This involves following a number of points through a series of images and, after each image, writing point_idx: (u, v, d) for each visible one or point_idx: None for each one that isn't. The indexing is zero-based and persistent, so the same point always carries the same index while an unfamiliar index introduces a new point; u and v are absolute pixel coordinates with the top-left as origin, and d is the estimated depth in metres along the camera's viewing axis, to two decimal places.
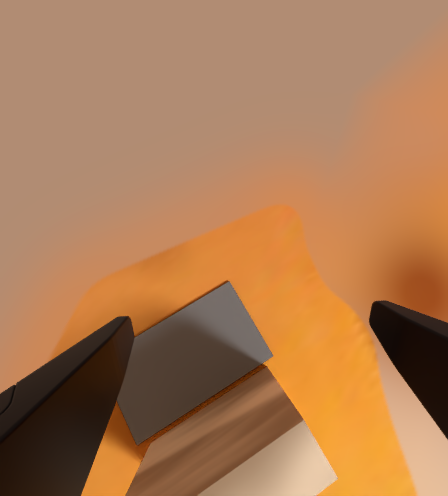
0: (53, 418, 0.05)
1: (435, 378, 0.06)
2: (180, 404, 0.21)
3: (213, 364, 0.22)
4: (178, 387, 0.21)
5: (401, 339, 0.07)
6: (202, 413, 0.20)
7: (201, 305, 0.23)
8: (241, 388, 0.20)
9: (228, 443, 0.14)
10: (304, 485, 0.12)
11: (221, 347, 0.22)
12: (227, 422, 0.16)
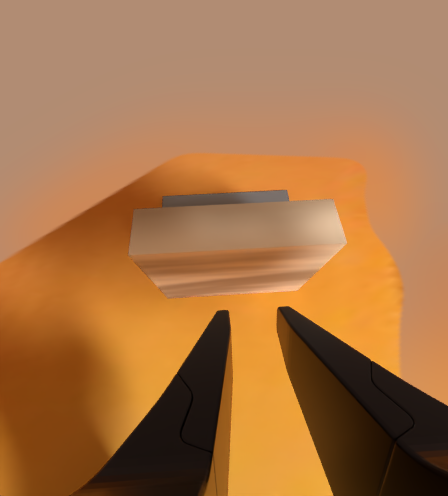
0: (223, 406, 0.05)
1: (307, 387, 0.06)
2: None
3: None
4: None
5: (289, 346, 0.07)
6: None
7: (256, 196, 0.26)
8: None
9: None
10: (315, 234, 0.13)
11: None
12: None
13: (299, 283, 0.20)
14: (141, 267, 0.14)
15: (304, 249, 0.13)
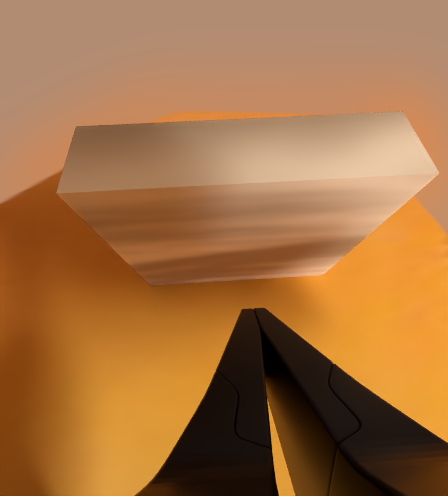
0: None
1: (274, 389, 0.06)
2: None
3: None
4: None
5: None
6: None
7: None
8: None
9: None
10: (382, 160, 0.08)
11: None
12: None
13: (329, 262, 0.14)
14: (91, 224, 0.09)
15: (362, 187, 0.08)
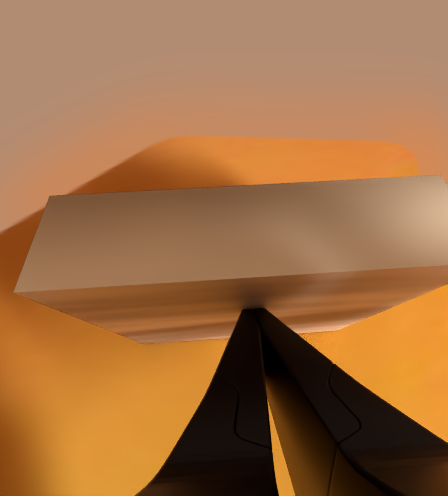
0: None
1: (274, 389, 0.06)
2: None
3: None
4: None
5: None
6: None
7: None
8: None
9: None
10: (425, 243, 0.06)
11: None
12: None
13: (346, 323, 0.13)
14: (65, 311, 0.07)
15: (400, 274, 0.06)
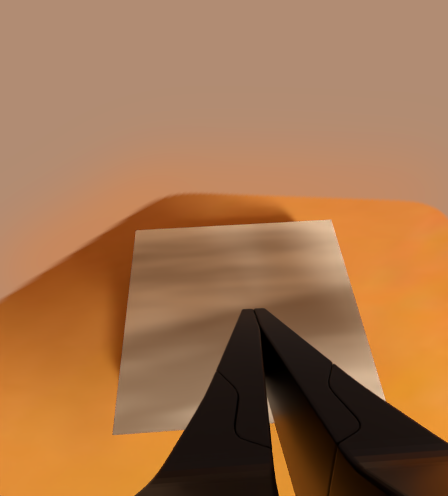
0: None
1: (274, 389, 0.06)
2: None
3: None
4: None
5: None
6: None
7: None
8: None
9: None
10: None
11: None
12: None
13: (362, 354, 0.11)
14: (134, 258, 0.13)
15: (297, 228, 0.14)
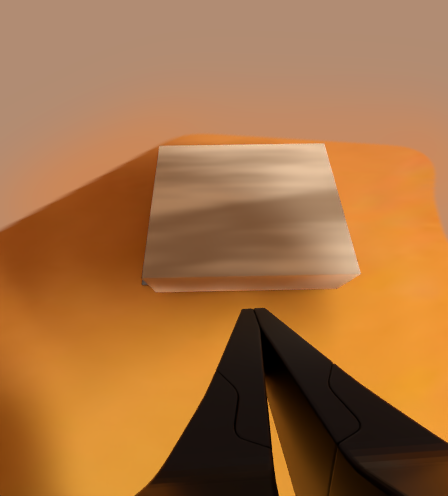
0: None
1: (274, 389, 0.06)
2: None
3: None
4: None
5: None
6: None
7: None
8: None
9: None
10: None
11: None
12: None
13: (342, 234, 0.14)
14: (158, 165, 0.16)
15: (295, 149, 0.17)
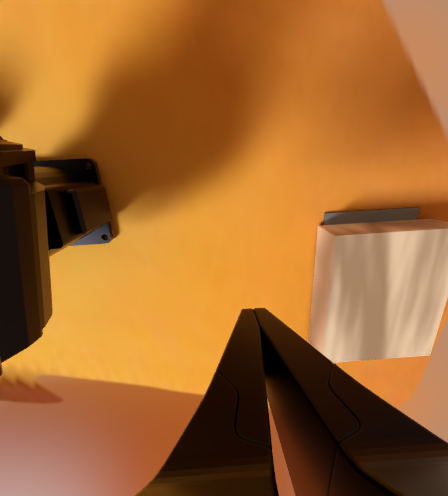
0: None
1: (274, 389, 0.06)
2: None
3: None
4: None
5: None
6: None
7: None
8: None
9: None
10: None
11: None
12: None
13: (348, 357, 0.21)
14: (443, 230, 0.17)
15: (430, 335, 0.21)
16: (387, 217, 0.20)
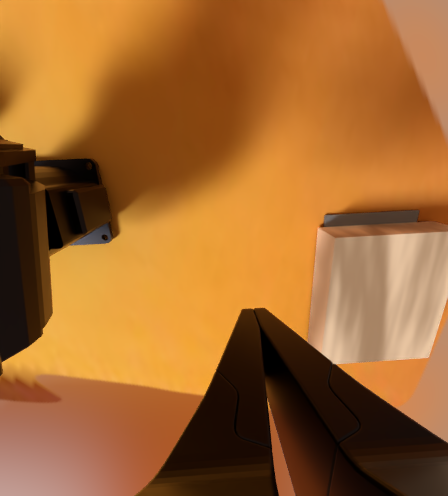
0: None
1: (274, 389, 0.06)
2: None
3: None
4: None
5: None
6: None
7: None
8: None
9: None
10: None
11: None
12: None
13: (347, 359, 0.21)
14: (443, 233, 0.17)
15: (429, 338, 0.21)
16: (387, 219, 0.20)
